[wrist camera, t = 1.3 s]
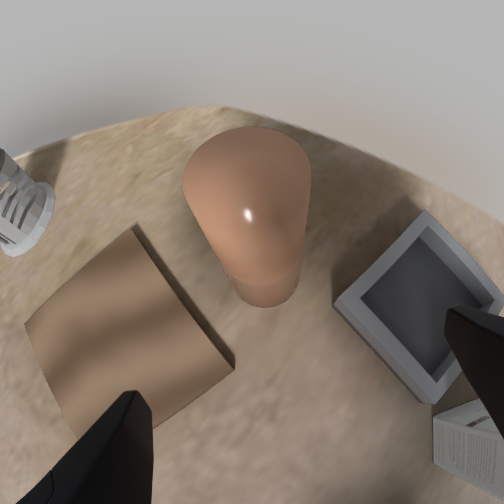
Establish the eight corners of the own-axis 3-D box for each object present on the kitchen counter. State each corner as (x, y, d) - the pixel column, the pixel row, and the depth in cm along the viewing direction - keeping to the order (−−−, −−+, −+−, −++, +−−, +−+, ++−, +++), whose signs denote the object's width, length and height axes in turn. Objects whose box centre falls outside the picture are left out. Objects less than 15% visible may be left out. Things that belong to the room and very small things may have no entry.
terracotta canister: (313, 277, 22) (339, 175, 11) (260, 321, 21) (233, 257, 10) (269, 230, 24) (254, 111, 13) (217, 271, 23) (160, 172, 12)
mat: (235, 369, 20) (232, 369, 19) (100, 462, 17) (93, 464, 17) (135, 233, 25) (130, 227, 24) (30, 326, 22) (24, 323, 22)
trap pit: (490, 307, 19) (506, 299, 17) (419, 402, 17) (435, 404, 15) (414, 224, 23) (424, 208, 20) (332, 306, 21) (338, 297, 19)
